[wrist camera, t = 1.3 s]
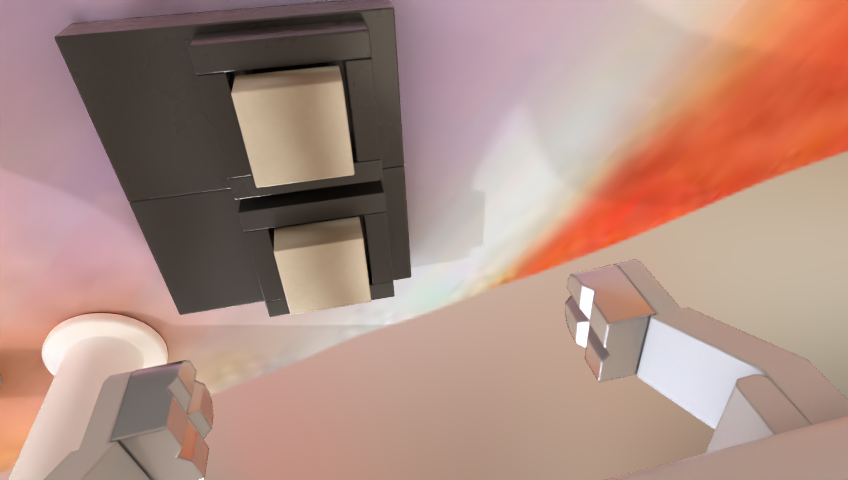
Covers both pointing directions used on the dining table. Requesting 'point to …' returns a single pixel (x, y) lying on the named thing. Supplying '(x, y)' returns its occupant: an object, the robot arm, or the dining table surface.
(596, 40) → the dining table surface
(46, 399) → the candle
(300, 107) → the key high
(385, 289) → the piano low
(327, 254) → the key low
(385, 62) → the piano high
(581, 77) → the dining table surface
